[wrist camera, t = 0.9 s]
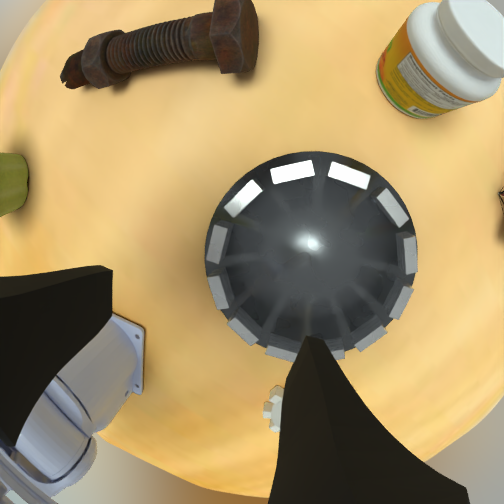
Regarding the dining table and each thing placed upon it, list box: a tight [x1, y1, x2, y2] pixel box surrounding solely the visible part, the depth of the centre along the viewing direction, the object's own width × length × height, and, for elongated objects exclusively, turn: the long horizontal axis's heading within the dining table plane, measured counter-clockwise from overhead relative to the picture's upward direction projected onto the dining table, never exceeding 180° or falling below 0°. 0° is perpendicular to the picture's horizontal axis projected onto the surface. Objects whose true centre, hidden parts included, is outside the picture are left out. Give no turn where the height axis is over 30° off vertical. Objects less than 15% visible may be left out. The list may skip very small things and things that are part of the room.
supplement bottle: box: [376, 0, 504, 119], centre depth 8 cm, size 5×5×10 cm
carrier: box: [205, 151, 418, 362], centre depth 16 cm, size 14×14×2 cm
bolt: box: [60, 0, 259, 89], centre depth 13 cm, size 6×5×15 cm
